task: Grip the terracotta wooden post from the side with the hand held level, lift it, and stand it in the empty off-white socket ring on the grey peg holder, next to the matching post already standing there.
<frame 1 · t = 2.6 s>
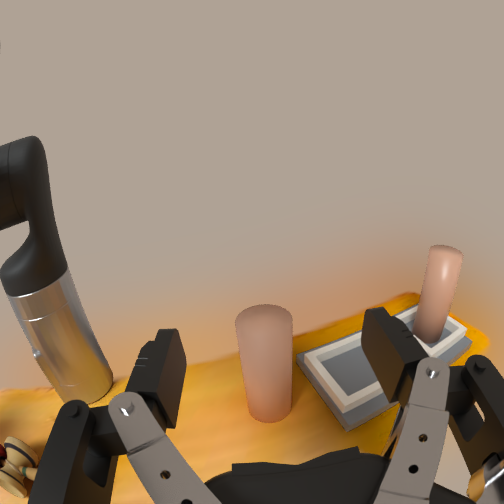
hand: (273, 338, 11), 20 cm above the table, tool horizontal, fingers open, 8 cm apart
grey peg holder: (392, 359, 33), on the table
kendama: (40, 482, 15), on the table
post: (269, 406, 29), on the table
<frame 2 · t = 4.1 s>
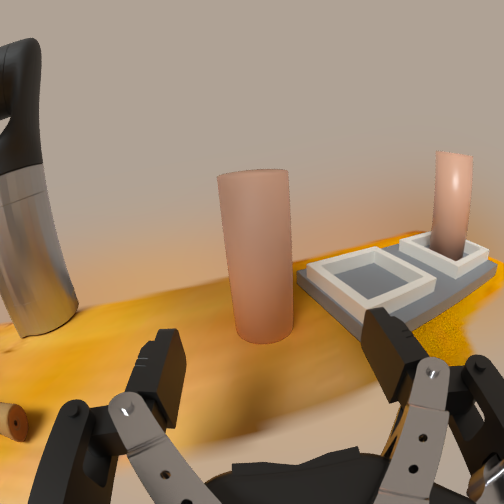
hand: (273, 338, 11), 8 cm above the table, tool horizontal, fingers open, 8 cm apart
grey peg holder: (412, 280, 28), on the table
post: (264, 325, 24), on the table
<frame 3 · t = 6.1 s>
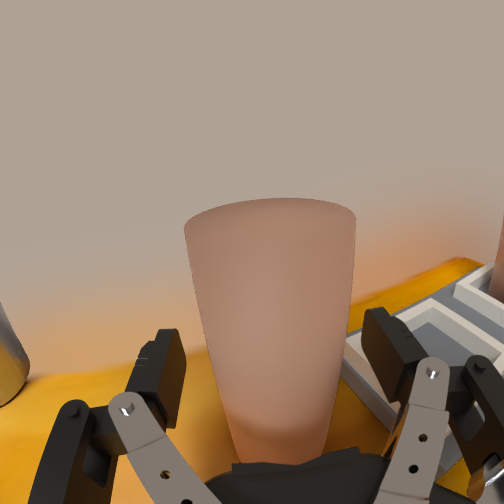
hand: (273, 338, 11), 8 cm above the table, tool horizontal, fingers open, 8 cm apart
grey peg holder: (472, 342, 17), on the table
post: (280, 444, 13), on the table
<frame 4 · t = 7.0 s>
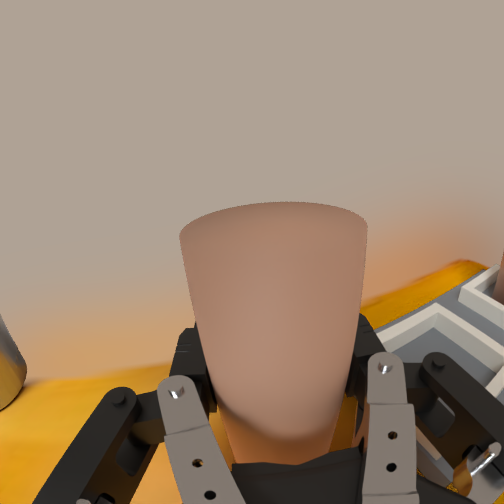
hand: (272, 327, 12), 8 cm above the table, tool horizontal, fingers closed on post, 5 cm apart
grey peg holder: (477, 347, 16), on the table
post: (281, 455, 12), on the table, touching gripper
when the fingers open (10 cm above the table, at t = 12.1 s): post stays where it is, resting on grey peg holder.
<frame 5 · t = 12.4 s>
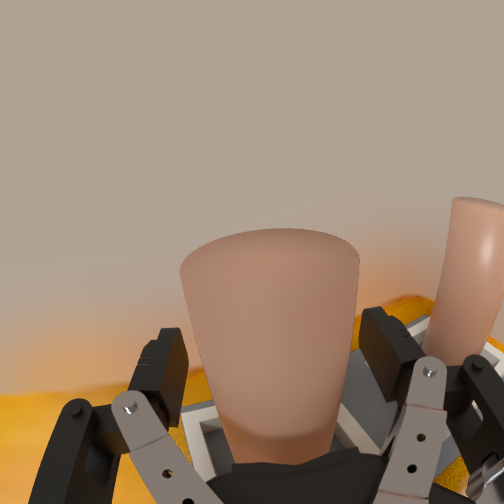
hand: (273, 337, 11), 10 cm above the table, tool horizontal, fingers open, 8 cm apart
grey peg holder: (373, 426, 15), on the table
post: (281, 462, 13), point 2 cm above the table, touching grey peg holder
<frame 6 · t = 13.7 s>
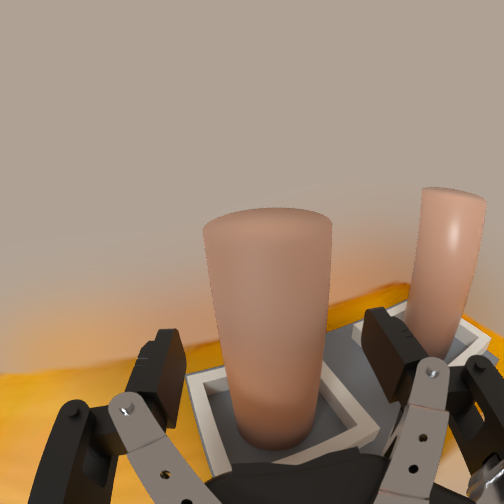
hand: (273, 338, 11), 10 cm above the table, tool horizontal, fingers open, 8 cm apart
grey peg holder: (359, 393, 18), on the table
post: (275, 419, 16), point 2 cm above the table, touching grey peg holder
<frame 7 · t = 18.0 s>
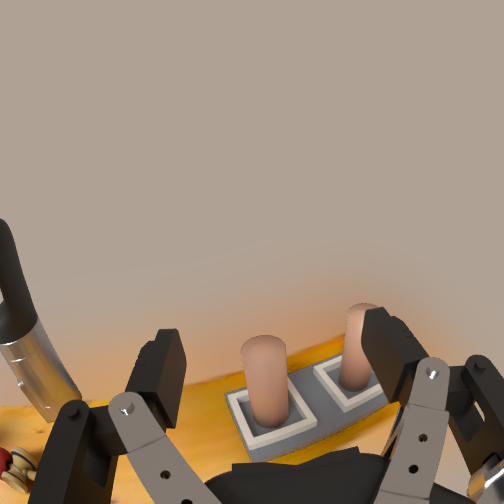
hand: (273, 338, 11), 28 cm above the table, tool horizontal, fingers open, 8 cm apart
grey peg holder: (314, 403, 37), on the table
kendama: (38, 481, 20), on the table
post: (270, 414, 34), point 2 cm above the table, touching grey peg holder
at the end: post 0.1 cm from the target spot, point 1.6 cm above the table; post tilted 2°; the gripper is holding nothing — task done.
